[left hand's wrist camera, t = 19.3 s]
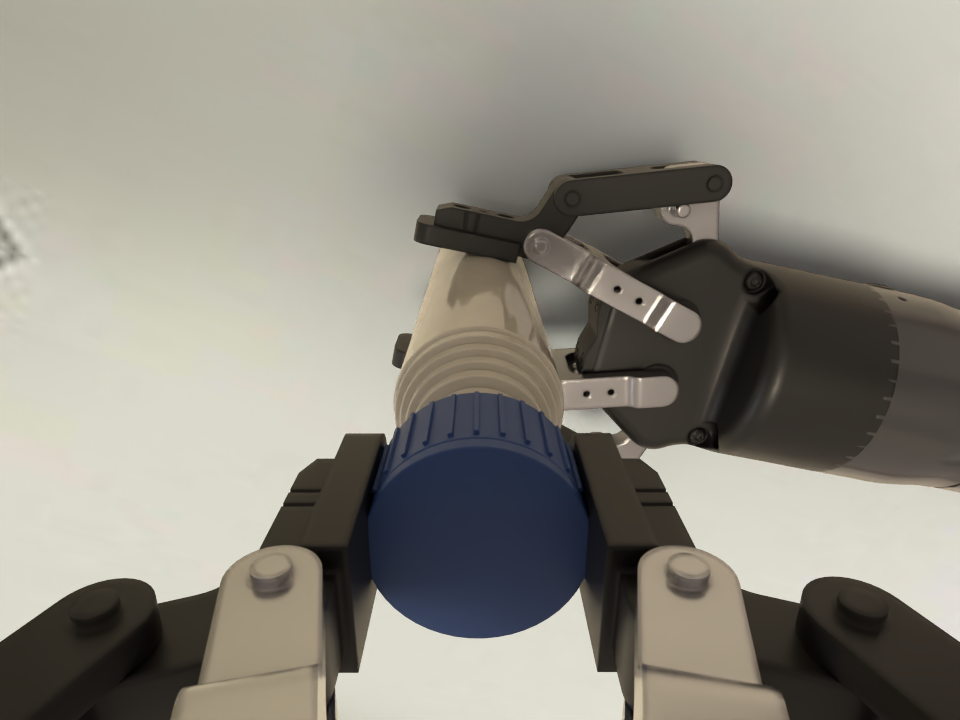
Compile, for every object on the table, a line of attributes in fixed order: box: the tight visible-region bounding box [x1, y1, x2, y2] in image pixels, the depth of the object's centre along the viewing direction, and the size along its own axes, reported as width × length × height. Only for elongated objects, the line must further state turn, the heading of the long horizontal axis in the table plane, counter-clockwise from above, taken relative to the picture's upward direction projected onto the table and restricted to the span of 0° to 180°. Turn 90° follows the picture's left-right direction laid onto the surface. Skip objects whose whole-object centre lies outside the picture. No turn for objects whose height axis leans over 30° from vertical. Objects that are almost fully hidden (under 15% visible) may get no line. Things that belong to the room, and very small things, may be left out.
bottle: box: [394, 248, 564, 429], centre depth 20 cm, size 4×4×20 cm
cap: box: [368, 391, 589, 638], centre depth 11 cm, size 4×4×2 cm
